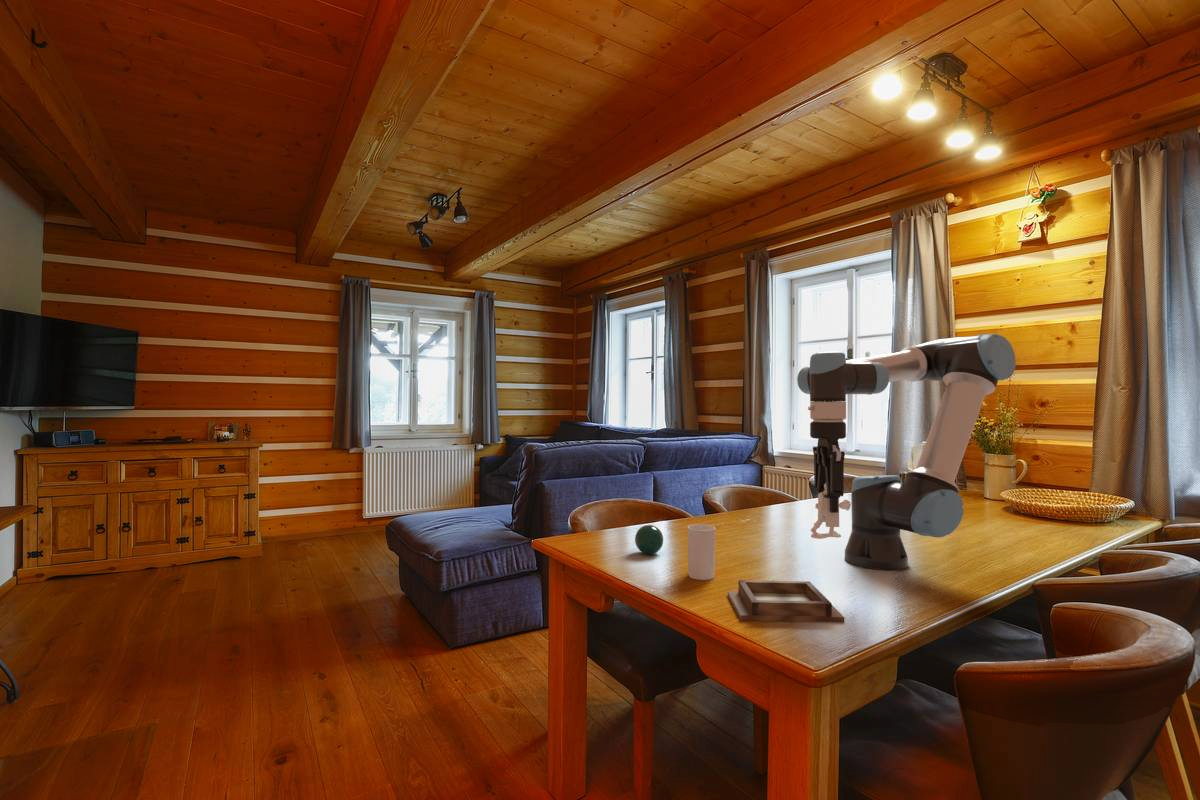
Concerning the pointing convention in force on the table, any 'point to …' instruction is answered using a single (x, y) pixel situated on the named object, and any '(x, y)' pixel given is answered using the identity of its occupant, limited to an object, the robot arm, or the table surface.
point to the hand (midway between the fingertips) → (828, 523)
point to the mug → (701, 551)
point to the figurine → (822, 514)
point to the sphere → (649, 539)
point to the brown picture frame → (782, 602)
